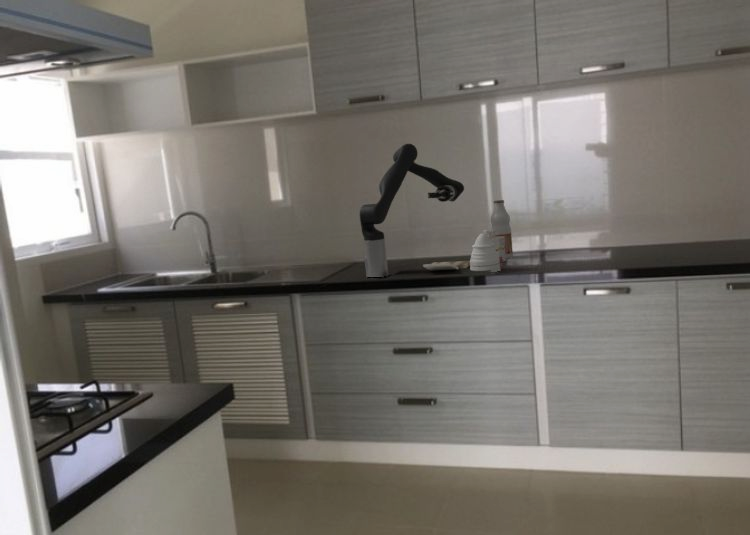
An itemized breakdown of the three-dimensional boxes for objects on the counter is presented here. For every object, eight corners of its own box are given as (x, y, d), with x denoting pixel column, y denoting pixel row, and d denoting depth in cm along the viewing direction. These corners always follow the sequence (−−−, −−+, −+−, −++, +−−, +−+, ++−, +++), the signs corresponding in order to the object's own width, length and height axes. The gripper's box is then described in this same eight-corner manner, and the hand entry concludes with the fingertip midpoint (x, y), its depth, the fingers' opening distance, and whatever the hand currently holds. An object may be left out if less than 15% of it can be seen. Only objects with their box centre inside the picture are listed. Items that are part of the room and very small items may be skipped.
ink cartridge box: (500, 263, 300) (498, 231, 298) (490, 263, 303) (487, 232, 301) (506, 260, 307) (504, 229, 305) (496, 260, 310) (494, 230, 308)
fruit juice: (499, 260, 310) (495, 201, 306) (489, 258, 319) (485, 201, 315) (516, 257, 313) (512, 199, 309) (506, 256, 322) (502, 199, 318)
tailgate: (433, 271, 293) (423, 267, 279) (433, 268, 293) (423, 263, 279) (459, 270, 288) (450, 265, 275) (459, 267, 288) (450, 262, 275)
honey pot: (500, 268, 287) (497, 227, 284) (499, 273, 274) (496, 230, 272) (471, 270, 290) (468, 230, 287) (469, 275, 277) (465, 233, 275)
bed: (427, 272, 294) (426, 266, 294) (434, 268, 305) (433, 262, 304) (466, 271, 288) (465, 264, 287) (471, 267, 298) (471, 260, 297)
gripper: (431, 186, 315) (420, 188, 299) (458, 184, 310) (448, 186, 294) (432, 202, 316) (422, 204, 300) (459, 199, 311) (450, 202, 295)
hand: (435, 195), depth 297 cm, fingers closed
